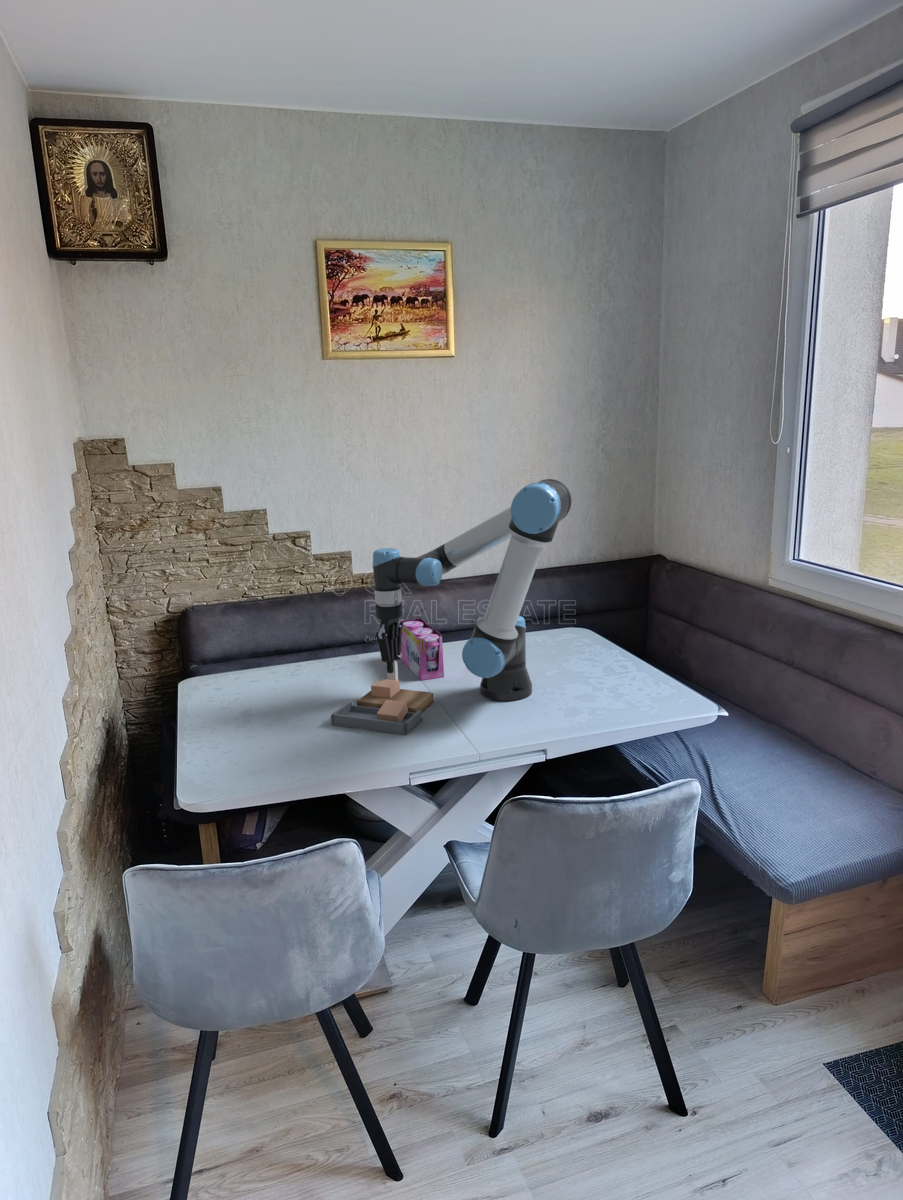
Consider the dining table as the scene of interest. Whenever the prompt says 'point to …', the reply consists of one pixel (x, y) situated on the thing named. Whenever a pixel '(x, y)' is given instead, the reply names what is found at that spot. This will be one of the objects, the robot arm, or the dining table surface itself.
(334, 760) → the dining table surface
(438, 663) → the gum box
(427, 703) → the brown wooden board
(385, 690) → the tile
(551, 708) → the dining table surface
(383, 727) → the tray
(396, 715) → the tile
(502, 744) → the dining table surface
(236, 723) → the dining table surface
